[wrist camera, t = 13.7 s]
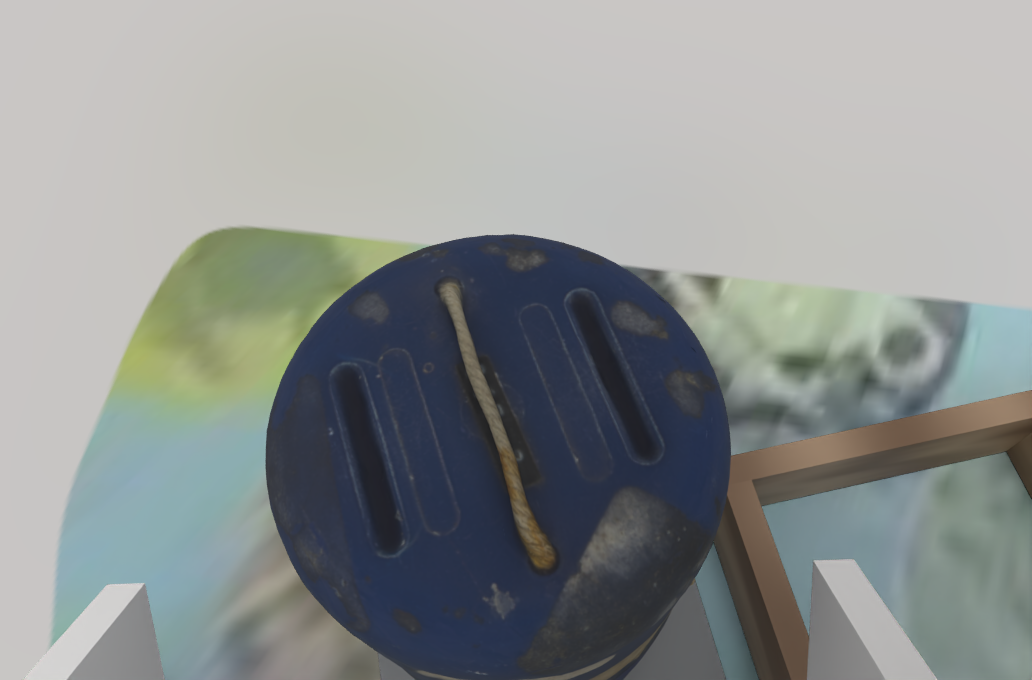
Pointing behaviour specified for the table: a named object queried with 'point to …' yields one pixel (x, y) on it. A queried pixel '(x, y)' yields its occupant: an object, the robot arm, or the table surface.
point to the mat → (655, 648)
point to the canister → (500, 461)
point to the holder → (833, 465)
